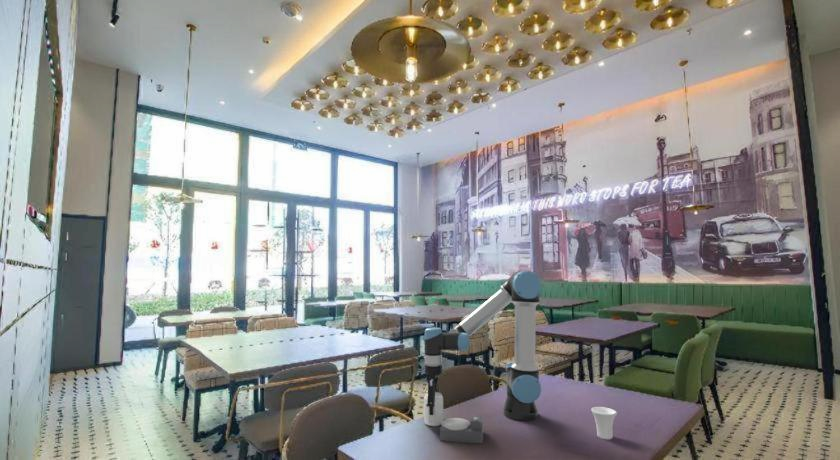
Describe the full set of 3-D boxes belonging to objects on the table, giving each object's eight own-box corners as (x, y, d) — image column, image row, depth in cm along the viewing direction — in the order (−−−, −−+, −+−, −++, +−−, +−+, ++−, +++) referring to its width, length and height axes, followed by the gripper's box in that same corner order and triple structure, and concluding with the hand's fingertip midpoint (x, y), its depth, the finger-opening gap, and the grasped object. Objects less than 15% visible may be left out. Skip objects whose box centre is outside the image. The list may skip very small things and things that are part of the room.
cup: (617, 443, 147) (615, 415, 148) (590, 437, 152) (589, 411, 153) (619, 435, 154) (618, 408, 155) (594, 430, 159) (592, 404, 160)
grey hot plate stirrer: (483, 431, 158) (482, 411, 159) (482, 443, 147) (482, 421, 148) (443, 429, 161) (443, 409, 162) (440, 440, 150) (440, 419, 151)
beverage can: (441, 427, 163) (441, 397, 164) (422, 426, 164) (422, 396, 165) (444, 420, 170) (444, 392, 172) (426, 419, 172) (426, 391, 173)
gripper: (429, 358, 182) (429, 407, 180) (419, 370, 159) (420, 427, 157) (445, 358, 181) (445, 408, 178) (438, 371, 158) (438, 428, 156)
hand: (433, 417), depth 168 cm, fingers open, 11 cm apart
